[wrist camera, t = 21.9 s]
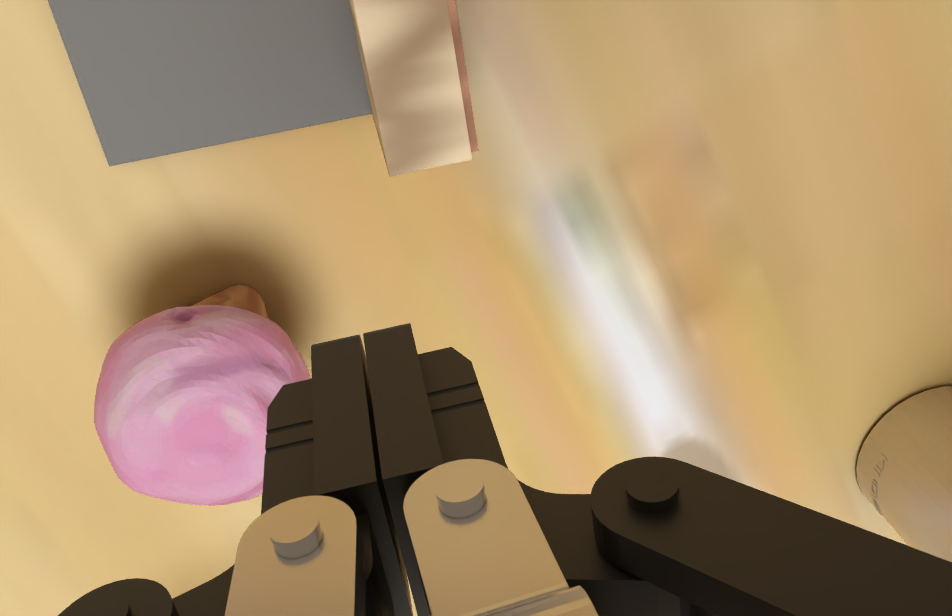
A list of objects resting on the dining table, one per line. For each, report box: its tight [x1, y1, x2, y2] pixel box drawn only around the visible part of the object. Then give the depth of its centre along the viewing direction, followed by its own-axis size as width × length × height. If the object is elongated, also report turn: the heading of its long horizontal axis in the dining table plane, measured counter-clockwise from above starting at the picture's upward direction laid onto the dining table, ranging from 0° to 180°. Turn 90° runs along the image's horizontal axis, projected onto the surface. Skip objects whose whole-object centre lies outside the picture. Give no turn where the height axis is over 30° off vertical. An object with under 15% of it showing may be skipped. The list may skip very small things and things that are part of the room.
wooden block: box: [348, 0, 479, 176], centre depth 32 cm, size 3×8×10 cm
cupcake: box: [94, 285, 311, 505], centre depth 38 cm, size 9×9×10 cm
